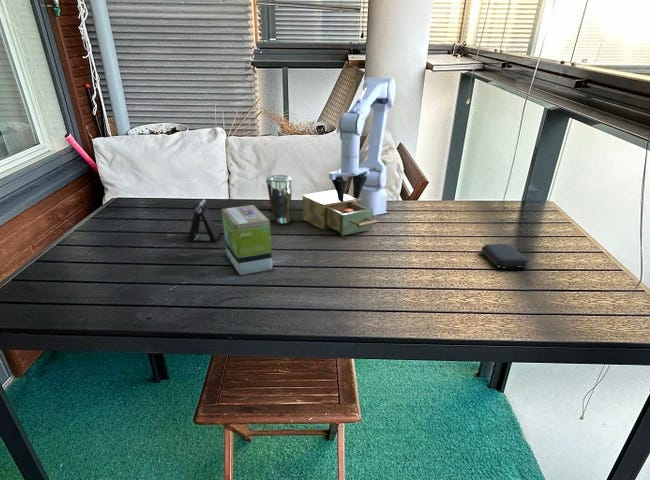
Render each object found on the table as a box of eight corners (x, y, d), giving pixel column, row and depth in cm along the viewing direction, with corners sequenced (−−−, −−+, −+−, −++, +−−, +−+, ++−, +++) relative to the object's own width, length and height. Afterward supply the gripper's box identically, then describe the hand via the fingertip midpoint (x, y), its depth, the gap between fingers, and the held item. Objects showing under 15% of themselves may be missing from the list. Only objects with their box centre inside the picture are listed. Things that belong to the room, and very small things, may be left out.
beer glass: (270, 220, 175) (267, 177, 166) (288, 218, 177) (286, 175, 169) (277, 226, 169) (275, 181, 161) (295, 223, 172) (294, 179, 164)
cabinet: (355, 223, 173) (356, 198, 168) (323, 229, 166) (323, 204, 162) (333, 213, 182) (334, 189, 177) (302, 219, 176) (302, 195, 171)
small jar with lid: (349, 221, 168) (349, 207, 165) (356, 225, 165) (357, 210, 162) (339, 223, 166) (339, 209, 163) (346, 227, 163) (346, 212, 160)
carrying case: (533, 270, 138) (511, 251, 150) (536, 260, 136) (514, 241, 149) (497, 271, 137) (478, 252, 150) (499, 261, 136) (480, 242, 148)
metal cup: (264, 213, 182) (262, 180, 175) (270, 206, 190) (269, 174, 183) (289, 214, 180) (288, 181, 174) (294, 207, 188) (293, 175, 182)
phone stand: (188, 241, 157) (182, 203, 150) (193, 235, 162) (187, 198, 155) (216, 241, 156) (211, 204, 150) (219, 235, 161) (215, 198, 155)
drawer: (382, 233, 161) (383, 213, 157) (352, 240, 155) (352, 219, 151) (350, 219, 173) (351, 200, 169) (321, 225, 168) (321, 205, 164)
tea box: (225, 257, 146) (220, 207, 137) (257, 252, 149) (254, 203, 141) (239, 276, 134) (234, 223, 126) (273, 270, 137) (270, 218, 129)
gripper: (338, 160, 147) (337, 205, 154) (376, 155, 153) (373, 199, 161) (325, 156, 152) (325, 200, 159) (362, 151, 158) (360, 194, 166)
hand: (348, 199), depth 160 cm, fingers open, 6 cm apart
